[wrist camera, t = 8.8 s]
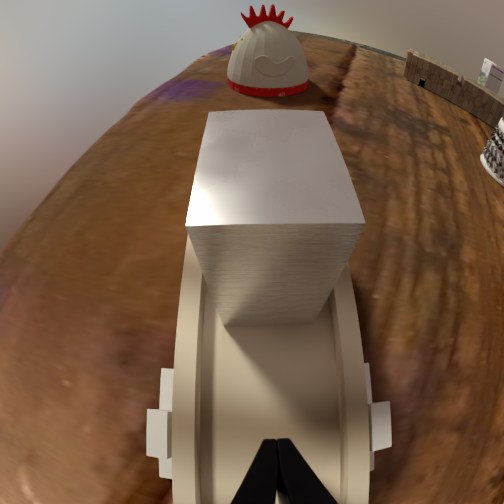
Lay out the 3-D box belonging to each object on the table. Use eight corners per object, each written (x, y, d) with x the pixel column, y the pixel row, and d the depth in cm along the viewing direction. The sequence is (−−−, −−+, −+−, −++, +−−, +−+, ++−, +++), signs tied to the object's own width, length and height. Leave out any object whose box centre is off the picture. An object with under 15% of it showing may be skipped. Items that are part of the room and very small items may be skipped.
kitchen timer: (226, 72, 45) (221, 3, 32) (296, 68, 45) (299, 2, 32) (231, 100, 37) (224, 10, 24) (318, 96, 38) (326, 12, 25)
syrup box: (492, 109, 47) (506, 72, 35) (478, 101, 48) (492, 62, 36) (485, 101, 50) (498, 65, 38) (472, 93, 51) (484, 56, 39)
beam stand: (368, 467, 13) (414, 486, 7) (164, 474, 13) (122, 497, 8) (363, 365, 17) (407, 342, 12) (166, 370, 18) (125, 350, 12)
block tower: (400, 82, 48) (503, 135, 38) (406, 52, 41) (515, 109, 31) (403, 75, 51) (498, 123, 42) (408, 48, 44) (508, 99, 35)
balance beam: (326, 584, 6) (346, 623, 1) (208, 588, 6) (192, 629, 1) (313, 231, 22) (326, 175, 17) (210, 233, 23) (197, 177, 17)
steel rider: (312, 324, 13) (365, 223, 6) (223, 326, 13) (185, 226, 6) (302, 232, 16) (323, 111, 9) (227, 233, 16) (209, 112, 10)
